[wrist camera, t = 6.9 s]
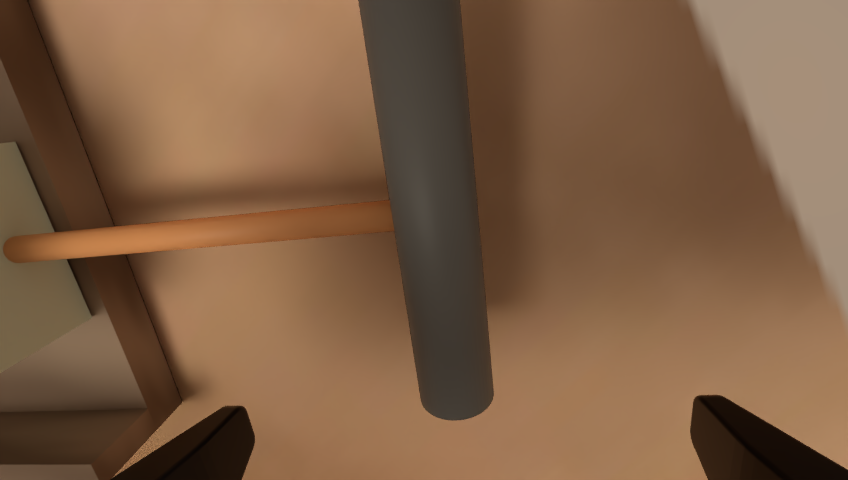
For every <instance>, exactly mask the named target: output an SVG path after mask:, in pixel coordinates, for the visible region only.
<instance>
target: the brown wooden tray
mask: <svg viewBox="0 0 848 480" xmlns="http://www.w3.org/2000/svg"><path fill="white" fill-rule="evenodd" d="M8 142H16V144H17V147H18V149H19V151H20V154H21V156H22V158H23V160H24V163H25V165H26V167H27V170H28V172H29V174H30V176H31V179H32V181H33V183H34V186H35V188H36V190H37V193H38V195H39V197H40V199H41V202H42V204H43V206H44V209H45V211H46V213H47V215H48V218H49V220H50V222H51V225H52V227H53V229H54V231H55V232H64V231H74V230H84V229H95V228H105V227H114V224H113V222H112V219H111V217H110V214H109V211H108V209H107V206H106V204H105V201H104V198H103V196H102V193H101V191H100V188H99V185H98V183H97V180H96V178H95V175H94V173H93V170H92V167H91V165H90V162H89V160H88V157H87V154H86V152H85V149H84V147H83V144H82V141H81V139H80V136H79V134H78V131H77V128H76V126H75V123H74V121H73V118H72V115H71V113H70V110H69V108H68V105H67V102H66V100H65V97H64V95H63V92H62V90H61V87H60V84H59V82H58V79H57V77H56V74H55V71H54V69H53V66H52V64H51V61H50V58H49V56H48V53H47V51H46V48H45V45H44V43H43V40H42V38H41V35H40V32H39V30H38V27H37V25H36V22H35V19H34V17H33V14H32V12H31V9H30V7H29V4H28V1H27V0H0V143H8ZM67 261H68V264H69V266H70V268H71V270H72V273H73V275H74V277H75V280H76V282H77V284H78V286H79V289H80V291H81V293H82V296H83V298H84V300H85V303H86V305H87V307H88V309H89V312H90V314H91V316H92V318H91V319H89V320H88V321H86V322H84V323H83V324H81V325H79V326H78V327H76V328H74V329H73V330H71V331H69V332H68V333H66V334H64V335H63V336H61V337H59V338H58V339H56V340H54V341H53V342H51V343H49V344H48V345H46V346H44V347H43V348H41V349H39V350H38V351H36V352H34V353H33V354H31V355H29V356H28V357H26V358H24V359H23V360H21V361H19V362H18V363H16V364H14V365H13V366H11V367H9V368H8V369H6V370H4V371H3V372H1V373H0V480H110V479H111V478H112V477H113V476H114V475H115V474H116V473H117V472H118V471H119V470H120V469H121V468H122V466H123V465H124V464H125V463H126V462H127V461H128V460H129V459H130V458H131V457H132V456H133V455H134V454H135V452H136V451H137V450H138V449H139V448H140V447H141V446H142V445H143V444H144V443H145V442H146V441H147V440H148V439H149V437H150V436H151V435H152V434H153V433H154V432H155V431H156V430H157V429H158V428H159V427H160V426H161V425H162V423H163V422H164V421H165V420H166V419H167V418H168V417H169V416H170V415H171V414H172V413H173V412H174V411H175V410H176V408H177V407H178V406H179V405H180V404H181V403H182V401H181V398H180V396H179V393H178V390H177V388H176V385H175V383H174V380H173V377H172V375H171V372H170V370H169V367H168V364H167V362H166V359H165V357H164V354H163V351H162V349H161V346H160V344H159V341H158V338H157V336H156V333H155V331H154V328H153V326H152V323H151V320H150V318H149V315H148V313H147V310H146V307H145V305H144V302H143V300H142V297H141V294H140V292H139V289H138V287H137V284H136V281H135V279H134V276H133V274H132V271H131V268H130V266H129V263H128V261H127V258H126V256H125V254H120V255H108V256H96V257H84V258H73V259H67Z"/></svg>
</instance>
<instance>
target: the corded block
mask: <svg viewBox="0 0 848 480" xmlns="http://www.w3.org/2000/svg"><path fill="white" fill-rule="evenodd" d="M358 1H359V7H360V14H361V20H362V27H363V33H364V39H365V46H366V52H367V59H368V65H369V71H370V78H371V84H372V91H373V97H374V103H375V110H376V116H377V123H378V129H379V135H380V142H381V148H382V155H383V161H384V167H385V174H386V180H387V187H388V193H389V199H390V200H384V201H374V202H364V203H353V204H343V205H333V206H322V207H312V208H302V209H291V210H281V211H271V212H260V213H250V214H239V215H229V216H219V217H208V218H198V219H188V220H177V221H167V222H157V223H146V224H136V225H126V226H115V227H105V228H95V229H84V230H74V231H64V232H55V231H54V229H53V227H52V225H51V222H50V220H49V218H48V215H47V213H46V211H45V209H44V206H43V204H42V202H41V199H40V197H39V195H38V193H37V190H36V188H35V186H34V183H33V181H32V179H31V176H30V174H29V172H28V170H27V167H26V165H25V163H24V160H23V158H22V156H21V154H20V151H19V149H18V147H17V144H16V142H8V143H0V373H1V372H3V371H4V370H6V369H8V368H9V367H11V366H13V365H14V364H16V363H18V362H19V361H21V360H23V359H24V358H26V357H28V356H29V355H31V354H33V353H34V352H36V351H38V350H39V349H41V348H43V347H44V346H46V345H48V344H49V343H51V342H53V341H54V340H56V339H58V338H59V337H61V336H63V335H64V334H66V333H68V332H69V331H71V330H73V329H74V328H76V327H78V326H79V325H81V324H83V323H84V322H86V321H88V320H89V319H91V318H92V316H91V314H90V312H89V309H88V307H87V305H86V303H85V300H84V298H83V296H82V293H81V291H80V289H79V286H78V284H77V282H76V280H75V277H74V275H73V273H72V270H71V268H70V266H69V264H68V261H67V259H73V258H84V257H96V256H108V255H120V254H131V253H143V252H155V251H167V250H178V249H190V248H202V247H214V246H225V245H237V244H249V243H261V242H272V241H284V240H296V239H308V238H319V237H331V236H343V235H354V234H366V233H378V232H390V231H395V238H396V244H397V251H398V257H399V263H400V270H401V276H402V283H403V289H404V295H405V302H406V308H407V314H408V321H409V327H410V334H411V340H412V346H413V353H414V359H415V366H416V372H417V378H418V385H419V391H420V398H421V402H422V405H423V407H424V408H425V409H426V410H427V411H428V412H429V413H430V414H432V415H433V416H435V417H438V418H441V419H445V420H464V419H468V418H472V417H474V416H477V415H478V414H480V413H482V412H483V411H484V410H486V409H487V408H488V406H489V405H490V404H491V402H492V400H493V396H494V391H493V379H492V368H491V356H490V344H489V333H488V321H487V310H486V298H485V286H484V275H483V263H482V251H481V240H480V228H479V217H478V205H477V193H476V182H475V170H474V158H473V147H472V135H471V124H470V112H469V100H468V89H467V77H466V65H465V54H464V42H463V31H462V19H461V7H460V0H358Z"/></svg>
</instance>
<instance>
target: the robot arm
mask: <svg viewBox="0 0 848 480" xmlns="http://www.w3.org/2000/svg"><path fill="white" fill-rule="evenodd" d="M690 433H691V439H692V443H693V445H694V448H695V450H696V452H697V455H698V457H699V460H700V462H701V464H702V467H703V469H704V471H705V474H706V476H707V478H708V480H848V470H847V469H845V468H844V467H842V466H840V465H839V464H837V463H835V462H834V461H832V460H830V459H829V458H827V457H825V456H823V455H822V454H820V453H818V452H817V451H815V450H813V449H812V448H810V447H808V446H806V445H805V444H803V443H801V442H800V441H798V440H796V439H795V438H793V437H791V436H790V435H788V434H786V433H784V432H783V431H781V430H779V429H778V428H776V427H774V426H773V425H771V424H769V423H767V422H766V421H764V420H762V419H761V418H759V417H757V416H756V415H754V414H752V413H750V412H749V411H747V410H745V409H744V408H742V407H740V406H739V405H737V404H735V403H734V402H732V401H730V400H728V399H727V398H725V397H723V396H720V395H699V396H696V397H695V399H694V402H693V409H692V419H691V428H690ZM254 443H255V435H254V432H253V429H252V426H251V422H250V419H249V416H248V413H247V411H246V409H245V408H244V407H243V406H225V407H222V408H221V409H219V410H218V411H216V412H214V413H213V414H211V415H210V416H208V417H207V418H205V419H203V420H202V421H200V422H199V423H197V424H196V425H194V426H193V427H191V428H189V429H188V430H186V431H185V432H183V433H182V434H180V435H179V436H177V437H175V438H174V439H172V440H171V441H169V442H168V443H166V444H165V445H163V446H161V447H160V448H158V449H157V450H155V451H154V452H152V453H151V454H149V455H147V456H146V457H144V458H143V459H141V460H140V461H138V462H137V463H135V464H133V465H132V466H130V467H129V468H127V469H126V470H124V471H123V472H121V473H119V474H118V475H116V476H115V477H113V478H112V479H110V480H242V477H243V475H244V472H245V469H246V467H247V464H248V461H249V458H250V456H251V453H252V450H253V447H254Z"/></svg>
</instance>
